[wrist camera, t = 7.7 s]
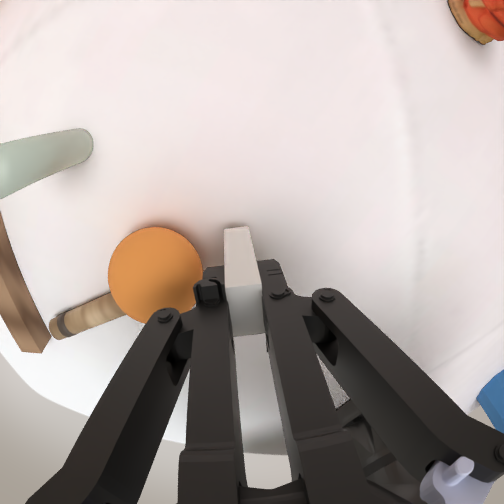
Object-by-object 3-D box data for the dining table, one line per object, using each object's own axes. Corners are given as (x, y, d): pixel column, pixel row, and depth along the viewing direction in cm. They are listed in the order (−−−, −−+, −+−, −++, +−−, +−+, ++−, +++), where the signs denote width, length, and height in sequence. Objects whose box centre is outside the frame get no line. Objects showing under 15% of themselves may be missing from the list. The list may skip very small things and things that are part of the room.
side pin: (95, 158, 16) (20, 192, 9) (67, 166, 16) (-12, 203, 9) (90, 124, 15) (10, 137, 8) (62, 133, 15) (-22, 154, 8)
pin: (132, 285, 21) (60, 316, 22) (117, 285, 19) (45, 318, 20) (140, 310, 21) (67, 338, 22) (127, 313, 19) (53, 342, 20)
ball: (191, 352, 17) (116, 328, 18) (223, 278, 21) (153, 265, 22) (158, 295, 12) (73, 271, 14) (207, 211, 16) (126, 204, 18)
